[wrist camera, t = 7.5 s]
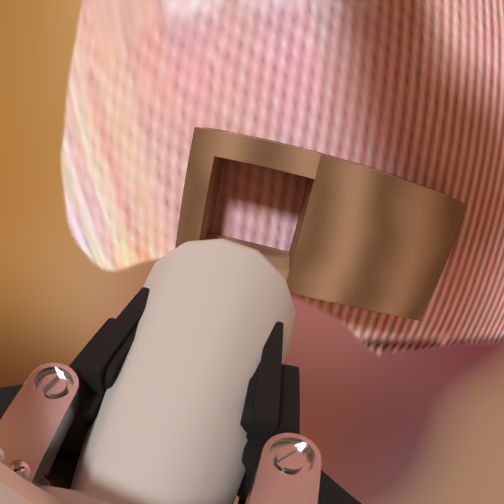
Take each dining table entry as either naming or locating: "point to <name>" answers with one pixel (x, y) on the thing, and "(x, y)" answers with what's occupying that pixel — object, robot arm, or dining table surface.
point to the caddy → (336, 224)
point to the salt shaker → (185, 382)
